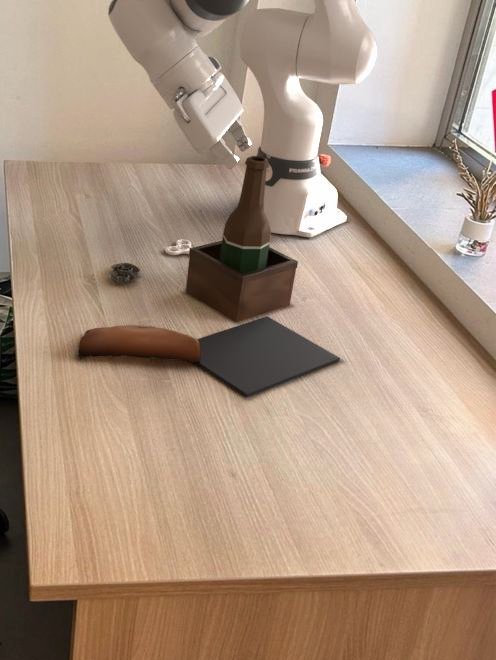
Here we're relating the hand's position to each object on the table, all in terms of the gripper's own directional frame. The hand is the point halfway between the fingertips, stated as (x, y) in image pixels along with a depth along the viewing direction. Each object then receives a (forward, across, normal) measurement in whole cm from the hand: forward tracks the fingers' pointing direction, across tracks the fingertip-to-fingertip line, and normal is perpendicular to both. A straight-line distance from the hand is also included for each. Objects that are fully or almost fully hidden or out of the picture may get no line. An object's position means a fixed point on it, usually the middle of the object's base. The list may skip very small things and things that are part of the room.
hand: (241, 156), depth 148 cm
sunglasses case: (+12, -25, +22) cm, 35 cm away
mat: (+24, -18, +10) cm, 31 cm away
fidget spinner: (+10, +15, +24) cm, 30 cm away
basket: (+19, 0, +15) cm, 24 cm away
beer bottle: (+19, 0, +15) cm, 24 cm away
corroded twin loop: (+5, -1, +29) cm, 30 cm away
